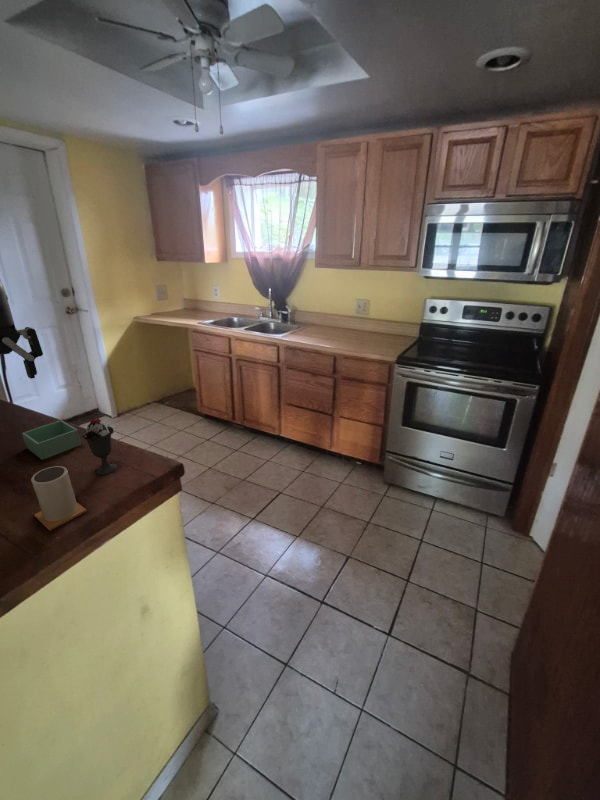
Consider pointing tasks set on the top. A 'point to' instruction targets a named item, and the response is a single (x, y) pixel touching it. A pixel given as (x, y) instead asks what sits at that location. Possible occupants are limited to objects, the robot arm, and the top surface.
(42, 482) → the coffee cup
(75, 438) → the bin
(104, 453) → the sundae
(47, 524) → the coaster
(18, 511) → the top surface
